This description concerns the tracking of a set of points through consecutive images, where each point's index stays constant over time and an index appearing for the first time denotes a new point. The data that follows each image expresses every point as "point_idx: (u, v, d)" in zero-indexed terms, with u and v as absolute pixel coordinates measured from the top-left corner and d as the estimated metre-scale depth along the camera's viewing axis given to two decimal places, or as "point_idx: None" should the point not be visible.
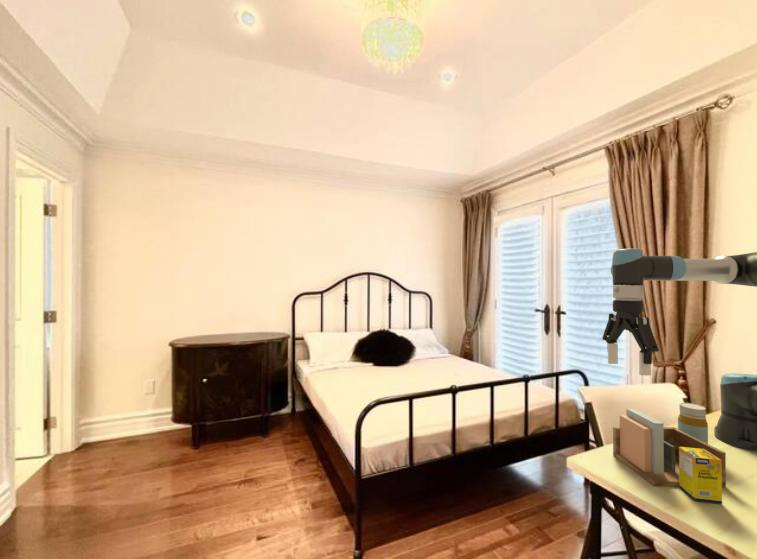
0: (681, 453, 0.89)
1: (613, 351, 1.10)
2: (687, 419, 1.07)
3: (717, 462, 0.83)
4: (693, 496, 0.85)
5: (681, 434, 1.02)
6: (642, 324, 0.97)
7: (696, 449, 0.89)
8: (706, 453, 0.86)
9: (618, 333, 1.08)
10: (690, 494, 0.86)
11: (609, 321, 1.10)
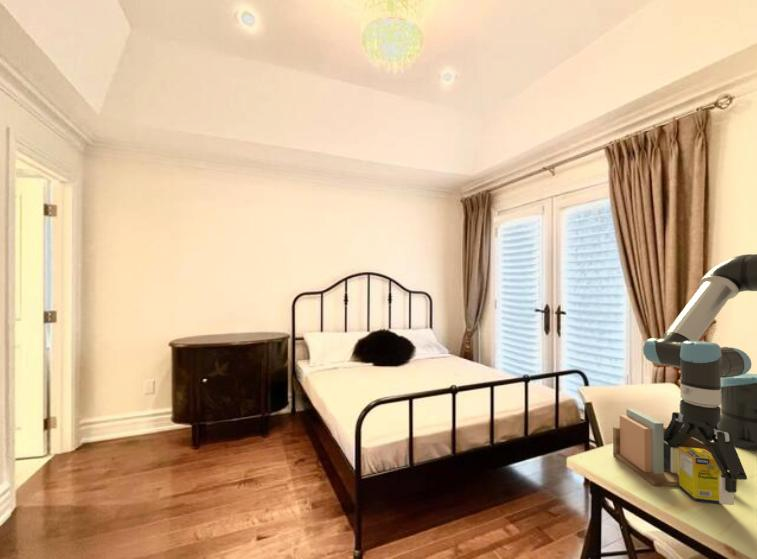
0: (681, 453, 0.89)
1: (677, 457, 0.93)
2: None
3: None
4: (693, 496, 0.85)
5: None
6: (724, 441, 0.79)
7: (696, 449, 0.89)
8: (706, 453, 0.86)
9: (685, 438, 0.91)
10: (690, 494, 0.86)
11: (673, 421, 0.93)
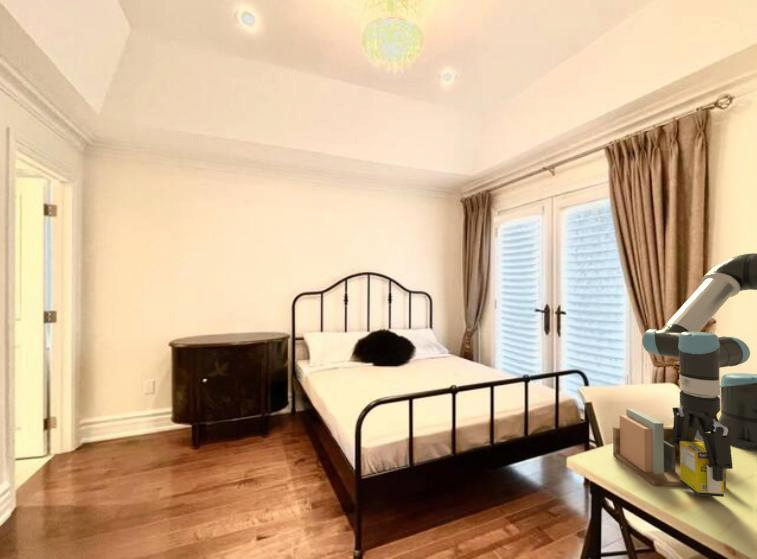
0: (682, 447, 0.89)
1: None
2: None
3: None
4: (696, 490, 0.85)
5: None
6: (721, 436, 0.80)
7: (697, 442, 0.89)
8: None
9: (692, 434, 0.89)
10: (693, 488, 0.86)
11: (675, 417, 0.92)
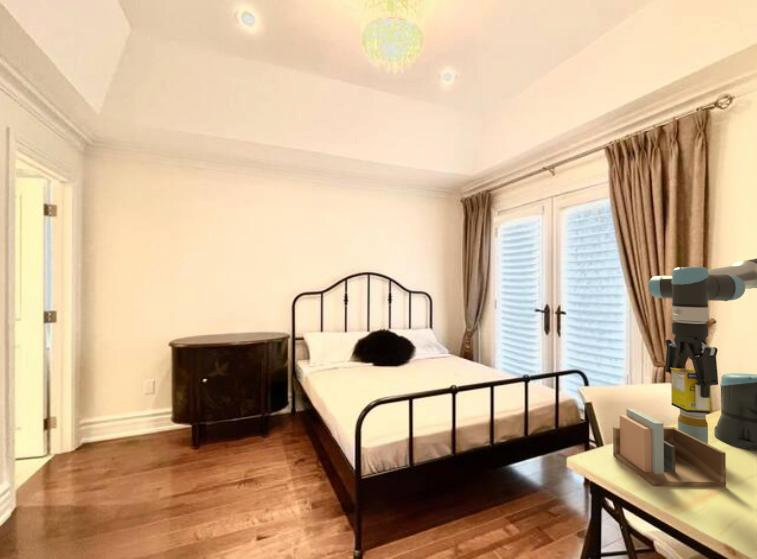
0: (673, 372, 0.97)
1: None
2: (687, 419, 1.07)
3: None
4: (685, 408, 0.93)
5: (681, 434, 1.02)
6: (708, 355, 0.89)
7: (687, 368, 0.97)
8: None
9: (683, 361, 0.98)
10: (682, 407, 0.94)
11: (668, 348, 1.01)
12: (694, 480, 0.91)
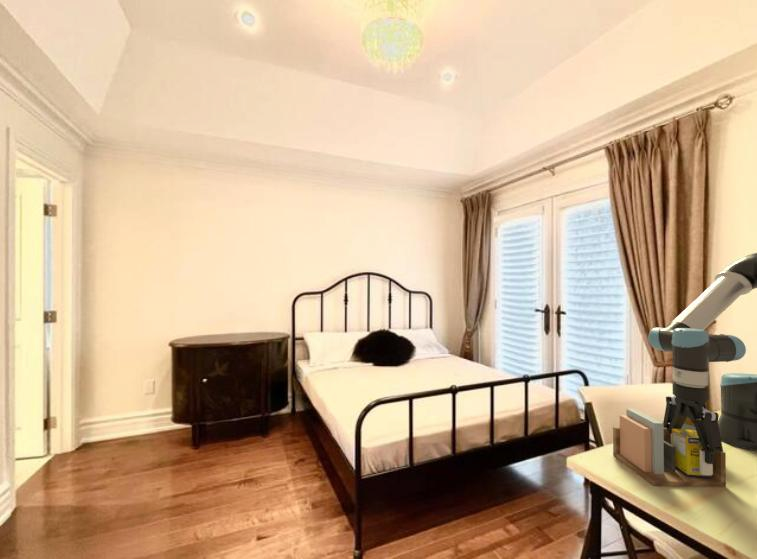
0: (674, 434, 0.97)
1: None
2: (687, 419, 1.07)
3: None
4: (686, 473, 0.93)
5: None
6: (710, 421, 0.89)
7: (687, 430, 0.97)
8: (696, 433, 0.95)
9: (681, 421, 0.98)
10: (683, 471, 0.94)
11: (668, 405, 1.01)
12: (694, 480, 0.91)
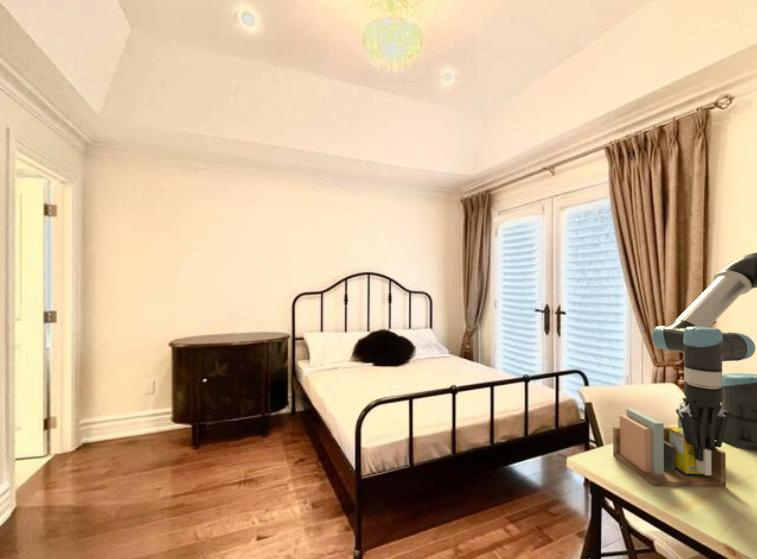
0: (671, 433, 0.98)
1: None
2: None
3: None
4: (684, 471, 0.93)
5: None
6: (680, 417, 0.92)
7: None
8: None
9: (706, 429, 0.91)
10: (681, 470, 0.94)
11: None
12: (694, 480, 0.91)
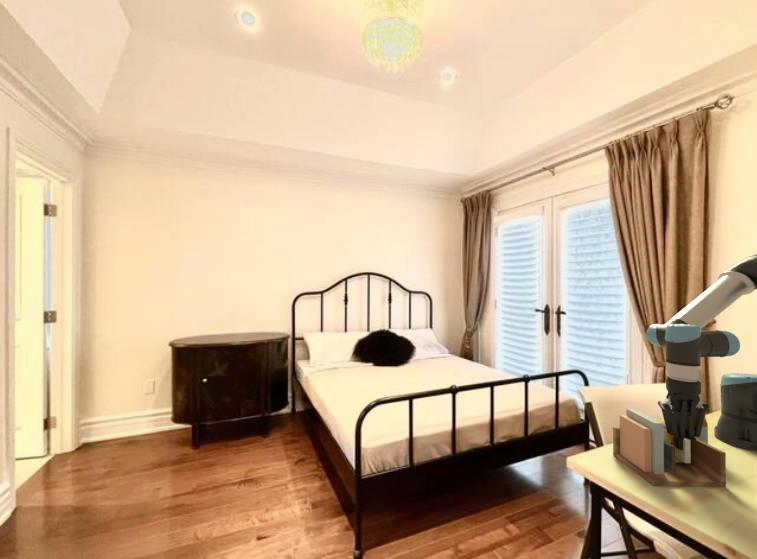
0: None
1: None
2: None
3: None
4: None
5: None
6: (662, 408, 0.98)
7: None
8: None
9: (686, 420, 0.97)
10: None
11: None
12: (694, 480, 0.91)
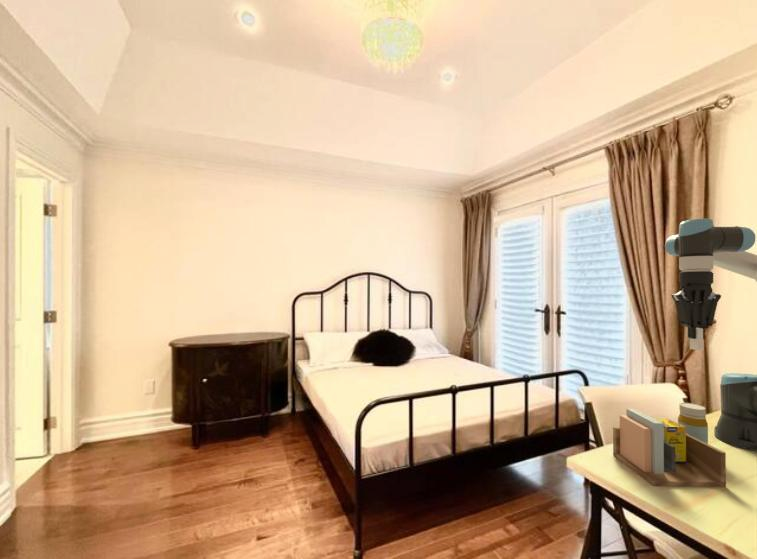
0: None
1: None
2: (687, 419, 1.07)
3: (682, 429, 0.99)
4: None
5: None
6: (675, 301, 1.03)
7: (664, 419, 1.04)
8: (672, 422, 1.02)
9: (699, 310, 1.01)
10: None
11: None
12: (694, 480, 0.91)
